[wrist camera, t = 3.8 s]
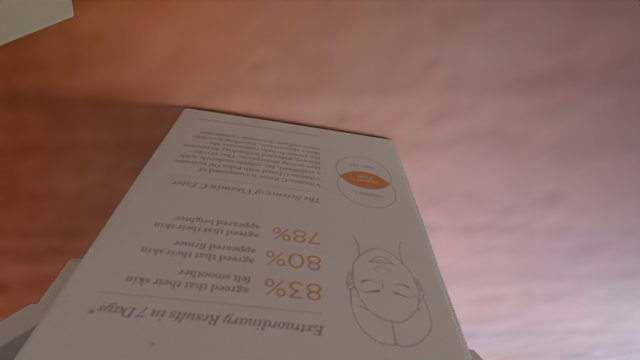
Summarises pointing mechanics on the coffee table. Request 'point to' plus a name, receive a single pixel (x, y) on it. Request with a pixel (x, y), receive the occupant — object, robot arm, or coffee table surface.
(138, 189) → the small box
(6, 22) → the tower base block
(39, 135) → the coffee table surface
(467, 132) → the coffee table surface
